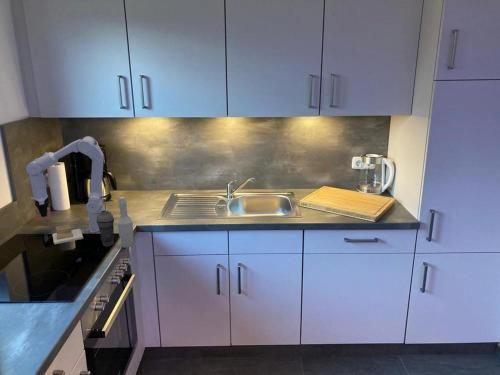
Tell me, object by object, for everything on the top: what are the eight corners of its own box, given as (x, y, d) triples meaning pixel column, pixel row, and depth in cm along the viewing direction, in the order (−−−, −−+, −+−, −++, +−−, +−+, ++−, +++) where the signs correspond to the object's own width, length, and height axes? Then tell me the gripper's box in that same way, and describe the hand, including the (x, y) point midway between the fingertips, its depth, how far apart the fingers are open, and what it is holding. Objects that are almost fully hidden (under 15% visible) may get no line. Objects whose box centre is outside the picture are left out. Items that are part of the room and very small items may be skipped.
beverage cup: (106, 240, 184) (100, 197, 178) (120, 241, 182) (115, 199, 176) (96, 246, 177) (89, 203, 171) (110, 248, 175) (104, 204, 169)
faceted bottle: (137, 242, 180) (131, 195, 174) (132, 248, 174) (127, 200, 168) (122, 242, 181) (116, 195, 174) (118, 249, 175) (111, 200, 168)
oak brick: (57, 236, 187) (55, 227, 185) (71, 233, 189) (69, 224, 188) (58, 239, 183) (56, 230, 182) (72, 236, 186) (70, 227, 185)
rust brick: (37, 218, 191) (35, 209, 190) (51, 215, 194) (49, 207, 193) (37, 220, 188) (35, 211, 187) (51, 218, 191) (50, 209, 189)
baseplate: (80, 230, 195) (79, 228, 195) (83, 238, 186) (82, 236, 186) (52, 235, 190) (52, 233, 190) (54, 244, 181) (53, 242, 180)
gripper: (28, 184, 191) (34, 211, 195) (29, 192, 179) (34, 221, 183) (45, 182, 194) (50, 209, 198) (47, 190, 182) (52, 218, 186)
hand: (44, 214), depth 191 cm, fingers closed on rust brick, 4 cm apart
